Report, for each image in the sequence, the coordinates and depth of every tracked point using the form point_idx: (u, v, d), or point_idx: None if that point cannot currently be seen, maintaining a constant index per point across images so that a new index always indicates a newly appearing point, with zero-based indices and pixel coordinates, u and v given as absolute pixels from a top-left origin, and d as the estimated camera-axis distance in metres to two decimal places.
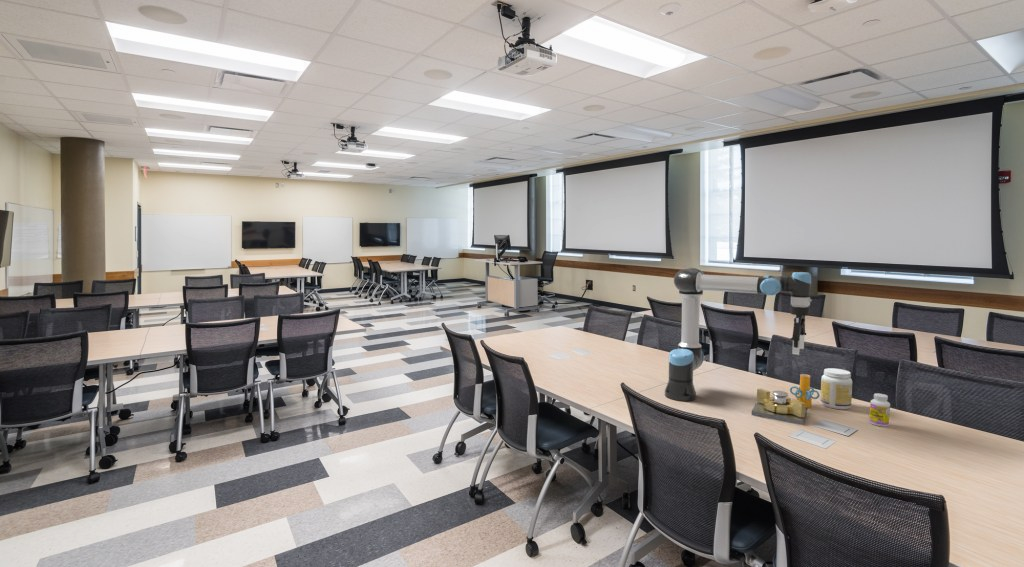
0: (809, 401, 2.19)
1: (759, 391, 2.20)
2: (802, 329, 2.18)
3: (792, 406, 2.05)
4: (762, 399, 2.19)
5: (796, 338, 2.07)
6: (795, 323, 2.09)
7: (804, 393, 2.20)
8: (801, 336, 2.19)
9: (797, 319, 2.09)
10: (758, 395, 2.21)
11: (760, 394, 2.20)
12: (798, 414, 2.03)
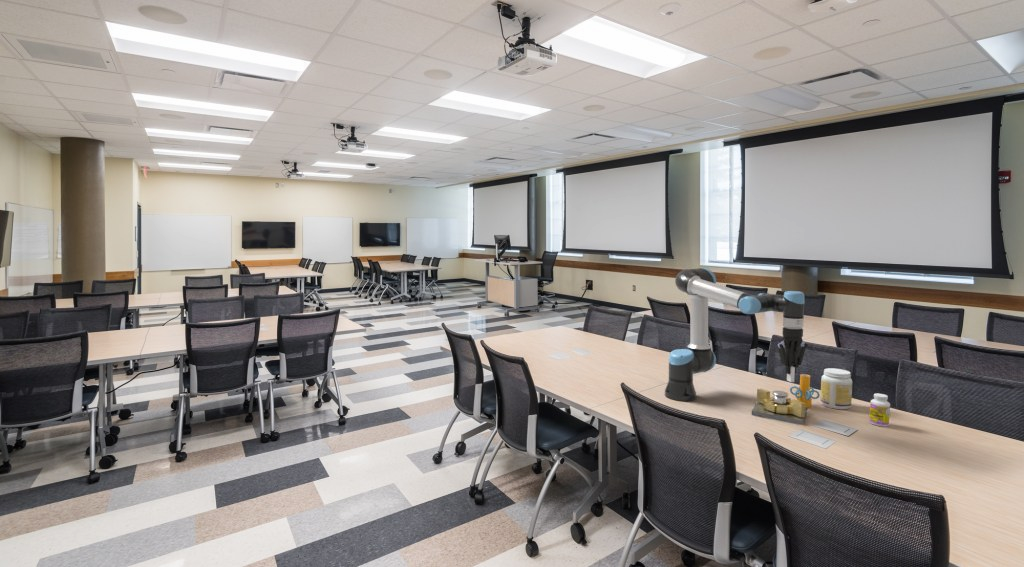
0: (809, 401, 2.19)
1: (759, 391, 2.20)
2: (794, 356, 2.00)
3: (792, 406, 2.05)
4: (762, 399, 2.19)
5: (784, 363, 2.00)
6: (779, 349, 2.00)
7: (804, 393, 2.20)
8: None
9: (778, 345, 1.99)
10: (758, 395, 2.21)
11: (760, 394, 2.20)
12: (798, 414, 2.03)
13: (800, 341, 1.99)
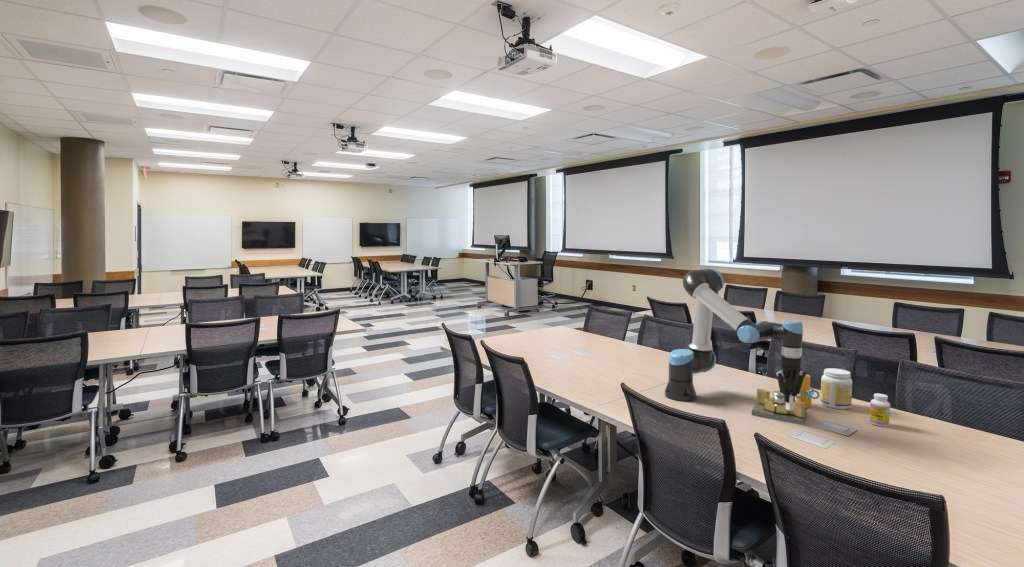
0: (809, 401, 2.19)
1: (759, 391, 2.20)
2: (792, 385, 2.01)
3: None
4: (762, 399, 2.19)
5: (782, 392, 2.01)
6: (778, 377, 2.02)
7: (804, 393, 2.20)
8: None
9: (777, 374, 2.01)
10: (758, 395, 2.21)
11: (760, 394, 2.20)
12: (798, 414, 2.03)
13: (799, 370, 2.00)
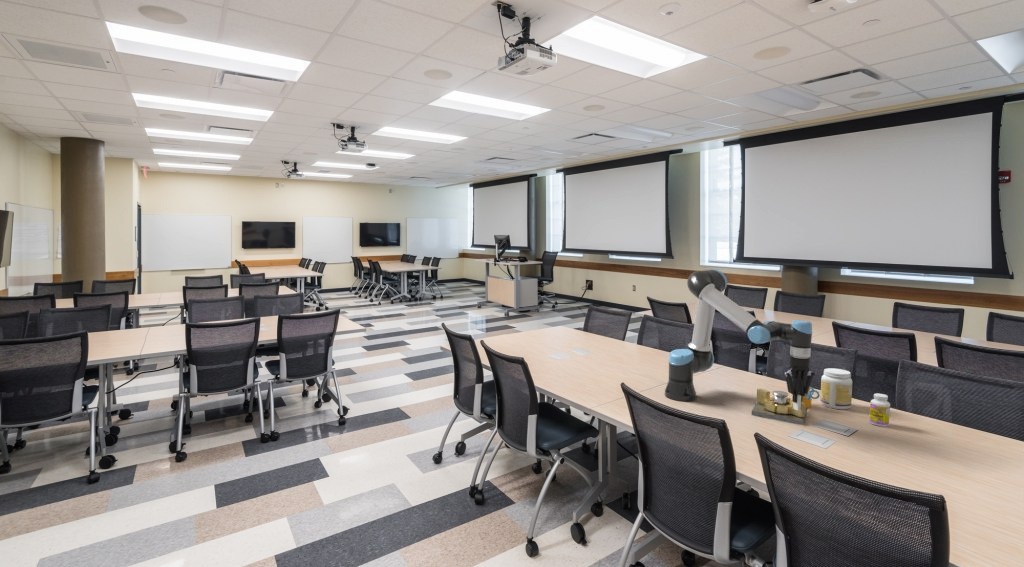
0: (809, 401, 2.19)
1: (759, 391, 2.20)
2: (800, 385, 2.01)
3: (792, 406, 2.05)
4: (762, 399, 2.19)
5: (790, 392, 2.02)
6: (786, 377, 2.02)
7: None
8: None
9: (785, 374, 2.01)
10: (758, 395, 2.21)
11: (760, 394, 2.20)
12: (798, 414, 2.03)
13: (807, 370, 2.00)
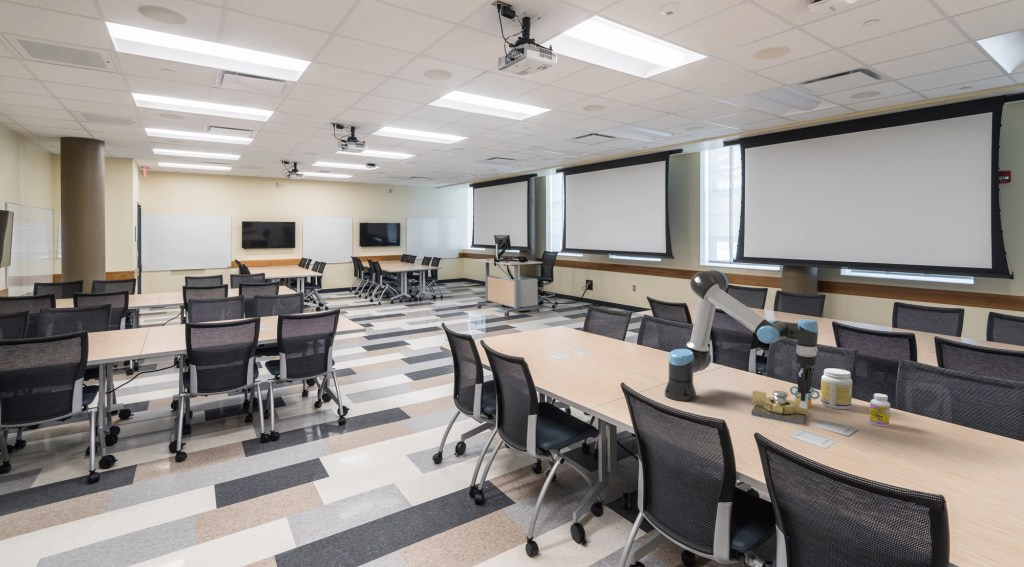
0: (809, 401, 2.19)
1: (755, 393, 2.17)
2: (807, 383, 2.04)
3: (797, 405, 2.07)
4: (759, 401, 2.16)
5: (802, 391, 2.02)
6: (798, 377, 2.01)
7: None
8: None
9: (799, 374, 2.00)
10: (754, 398, 2.17)
11: (757, 396, 2.17)
12: (804, 412, 2.05)
13: (811, 367, 2.05)
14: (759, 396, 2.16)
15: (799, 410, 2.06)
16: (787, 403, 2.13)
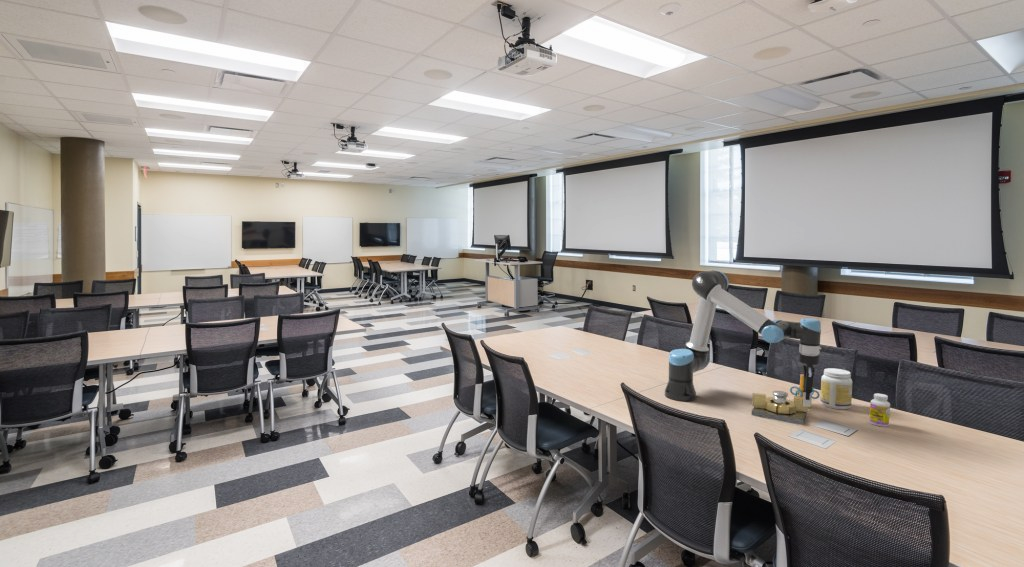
0: None
1: (757, 396, 2.13)
2: None
3: (797, 403, 2.09)
4: (761, 403, 2.13)
5: (809, 391, 2.02)
6: (808, 377, 2.01)
7: None
8: None
9: (810, 375, 2.00)
10: (755, 400, 2.14)
11: (758, 399, 2.13)
12: (805, 409, 2.08)
13: None
14: (760, 398, 2.13)
15: (800, 408, 2.09)
16: None
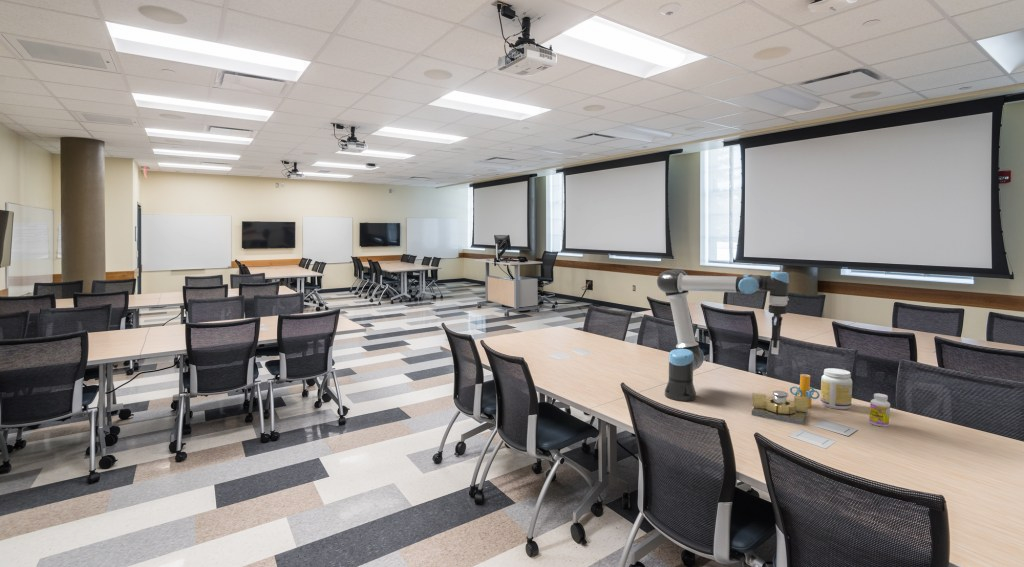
0: (809, 401, 2.19)
1: (757, 396, 2.13)
2: None
3: (797, 403, 2.09)
4: (761, 403, 2.13)
5: (775, 339, 2.17)
6: (773, 326, 2.16)
7: (804, 393, 2.20)
8: None
9: (775, 323, 2.14)
10: (755, 400, 2.14)
11: (758, 399, 2.13)
12: (805, 409, 2.08)
13: (780, 316, 2.21)
14: (760, 398, 2.13)
15: (800, 408, 2.09)
16: None
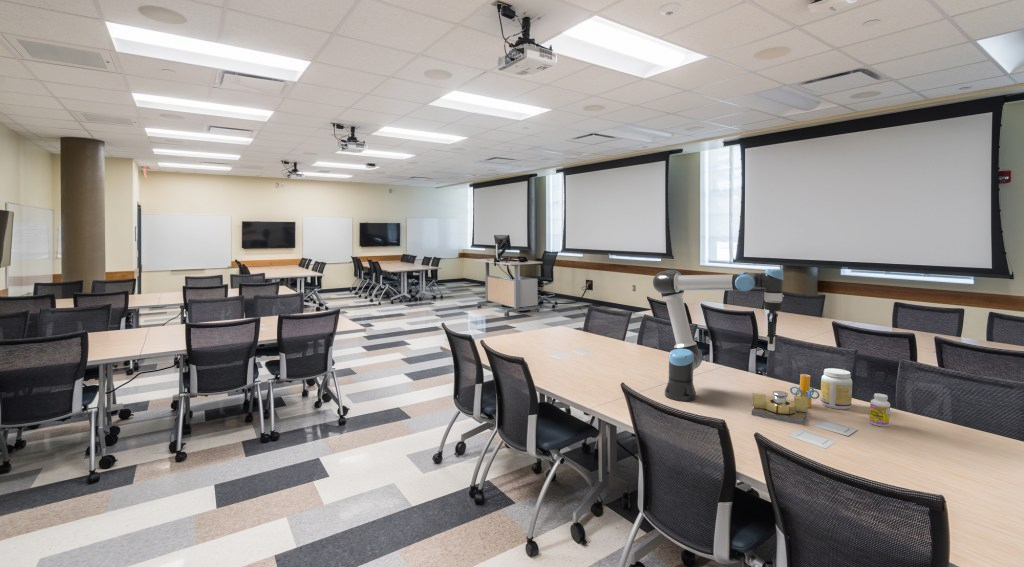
0: (809, 401, 2.19)
1: (757, 396, 2.13)
2: (774, 327, 2.22)
3: (797, 403, 2.09)
4: (761, 403, 2.13)
5: (771, 335, 2.19)
6: (769, 322, 2.18)
7: (804, 393, 2.20)
8: None
9: (770, 319, 2.17)
10: (755, 400, 2.14)
11: (758, 399, 2.13)
12: (805, 409, 2.08)
13: None
14: (760, 398, 2.13)
15: (800, 408, 2.09)
16: None
